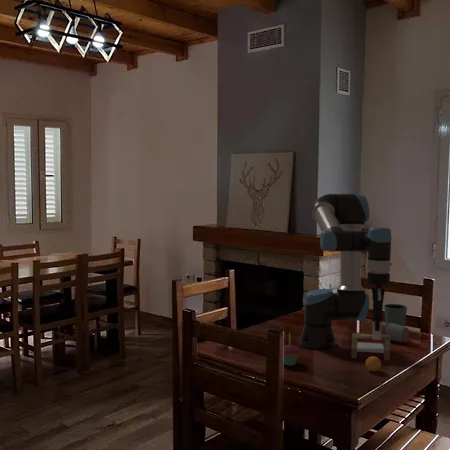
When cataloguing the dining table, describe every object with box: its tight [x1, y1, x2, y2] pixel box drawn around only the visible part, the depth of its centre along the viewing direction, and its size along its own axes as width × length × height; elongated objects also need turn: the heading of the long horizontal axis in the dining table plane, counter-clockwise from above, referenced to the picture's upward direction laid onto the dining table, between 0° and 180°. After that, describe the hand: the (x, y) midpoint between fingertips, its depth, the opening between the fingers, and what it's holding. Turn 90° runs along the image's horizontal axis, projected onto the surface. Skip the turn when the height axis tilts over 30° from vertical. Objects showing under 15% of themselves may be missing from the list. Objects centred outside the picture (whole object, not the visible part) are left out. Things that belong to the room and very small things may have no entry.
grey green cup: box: [383, 303, 408, 330], centre depth 255 cm, size 10×10×12 cm
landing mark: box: [357, 341, 384, 354], centre depth 229 cm, size 13×13×1 cm
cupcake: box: [283, 331, 302, 367], centre depth 207 cm, size 9×8×12 cm
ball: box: [365, 355, 382, 373], centre depth 199 cm, size 6×6×6 cm
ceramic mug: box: [385, 323, 410, 344], centre depth 240 cm, size 11×8×8 cm
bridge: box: [350, 332, 391, 361], centre depth 215 cm, size 3×14×9 cm, turn 79°
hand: (376, 339), depth 189 cm, fingers closed
